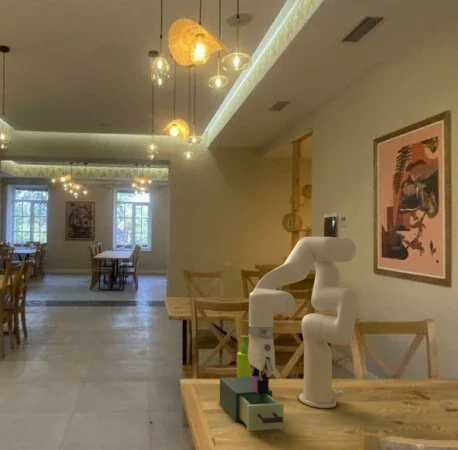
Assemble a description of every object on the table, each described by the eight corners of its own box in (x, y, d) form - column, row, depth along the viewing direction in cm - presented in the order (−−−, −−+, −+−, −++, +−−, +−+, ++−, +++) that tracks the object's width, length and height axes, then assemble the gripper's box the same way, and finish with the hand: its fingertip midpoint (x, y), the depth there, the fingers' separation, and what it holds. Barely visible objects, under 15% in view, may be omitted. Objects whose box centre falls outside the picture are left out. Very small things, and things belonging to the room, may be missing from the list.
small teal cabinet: (272, 419, 134) (272, 391, 135) (235, 421, 132) (236, 393, 132) (252, 401, 149) (253, 376, 149) (219, 403, 146) (220, 377, 146)
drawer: (291, 435, 121) (291, 410, 122) (255, 438, 119) (255, 412, 119) (263, 410, 139) (263, 388, 139) (231, 412, 137) (231, 390, 137)
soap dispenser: (254, 390, 160) (255, 338, 161) (236, 388, 162) (237, 337, 162) (254, 385, 166) (254, 334, 167) (236, 383, 167) (237, 333, 168)
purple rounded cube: (262, 388, 132) (262, 375, 132) (268, 392, 128) (268, 379, 128) (251, 388, 131) (251, 375, 131) (256, 393, 127) (256, 380, 127)
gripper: (285, 337, 123) (284, 399, 122) (259, 325, 139) (259, 380, 138) (261, 337, 121) (260, 401, 121) (239, 326, 138) (238, 381, 137)
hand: (259, 389), depth 130 cm, fingers closed on purple rounded cube, 4 cm apart
